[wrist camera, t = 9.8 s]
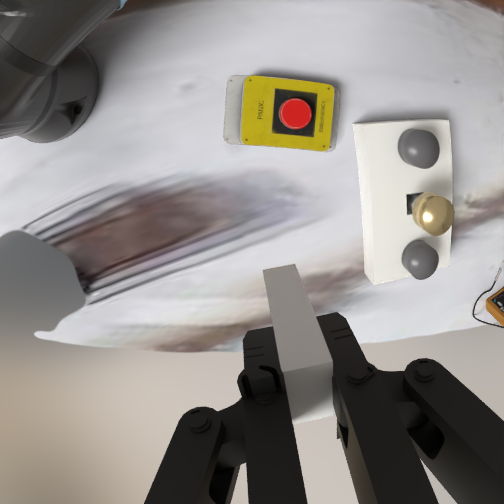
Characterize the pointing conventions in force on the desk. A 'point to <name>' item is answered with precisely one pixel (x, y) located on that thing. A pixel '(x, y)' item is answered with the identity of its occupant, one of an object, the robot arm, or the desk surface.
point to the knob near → (418, 148)
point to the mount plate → (398, 194)
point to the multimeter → (495, 305)
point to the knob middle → (431, 212)
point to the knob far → (420, 259)
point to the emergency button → (281, 113)
